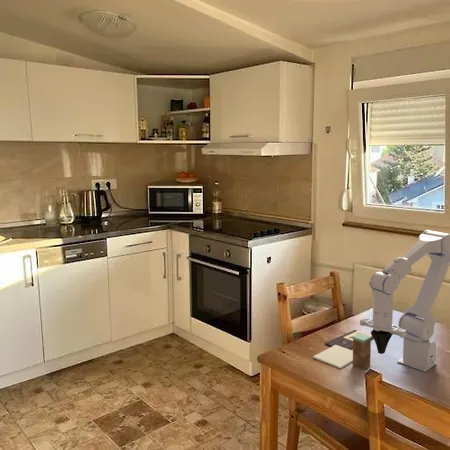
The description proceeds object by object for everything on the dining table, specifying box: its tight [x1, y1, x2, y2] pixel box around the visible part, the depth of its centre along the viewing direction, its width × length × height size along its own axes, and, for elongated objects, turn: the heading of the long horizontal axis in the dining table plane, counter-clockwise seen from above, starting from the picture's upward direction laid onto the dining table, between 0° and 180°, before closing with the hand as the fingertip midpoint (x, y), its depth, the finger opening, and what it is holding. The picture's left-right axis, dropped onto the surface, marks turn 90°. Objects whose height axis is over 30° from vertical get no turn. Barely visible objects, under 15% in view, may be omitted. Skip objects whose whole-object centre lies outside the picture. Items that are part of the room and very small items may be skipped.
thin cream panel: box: [312, 345, 353, 370], centre depth 155 cm, size 11×13×1 cm
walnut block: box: [352, 334, 372, 371], centre depth 148 cm, size 4×4×10 cm
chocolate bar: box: [324, 329, 374, 350], centre depth 168 cm, size 9×1×18 cm
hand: (381, 352), depth 142 cm, fingers closed
